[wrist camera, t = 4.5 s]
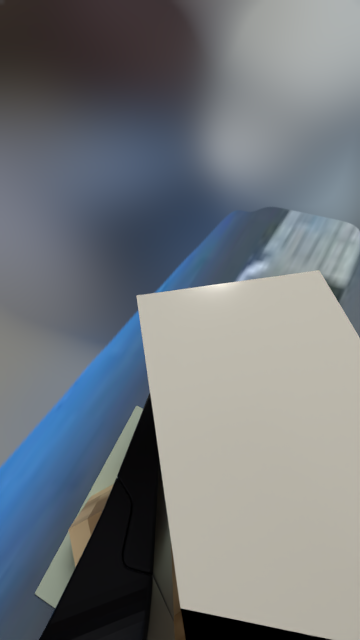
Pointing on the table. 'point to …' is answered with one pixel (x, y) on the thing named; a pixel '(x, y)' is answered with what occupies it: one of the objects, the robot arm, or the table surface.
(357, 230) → the table surface
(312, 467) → the off-white rectangular block
